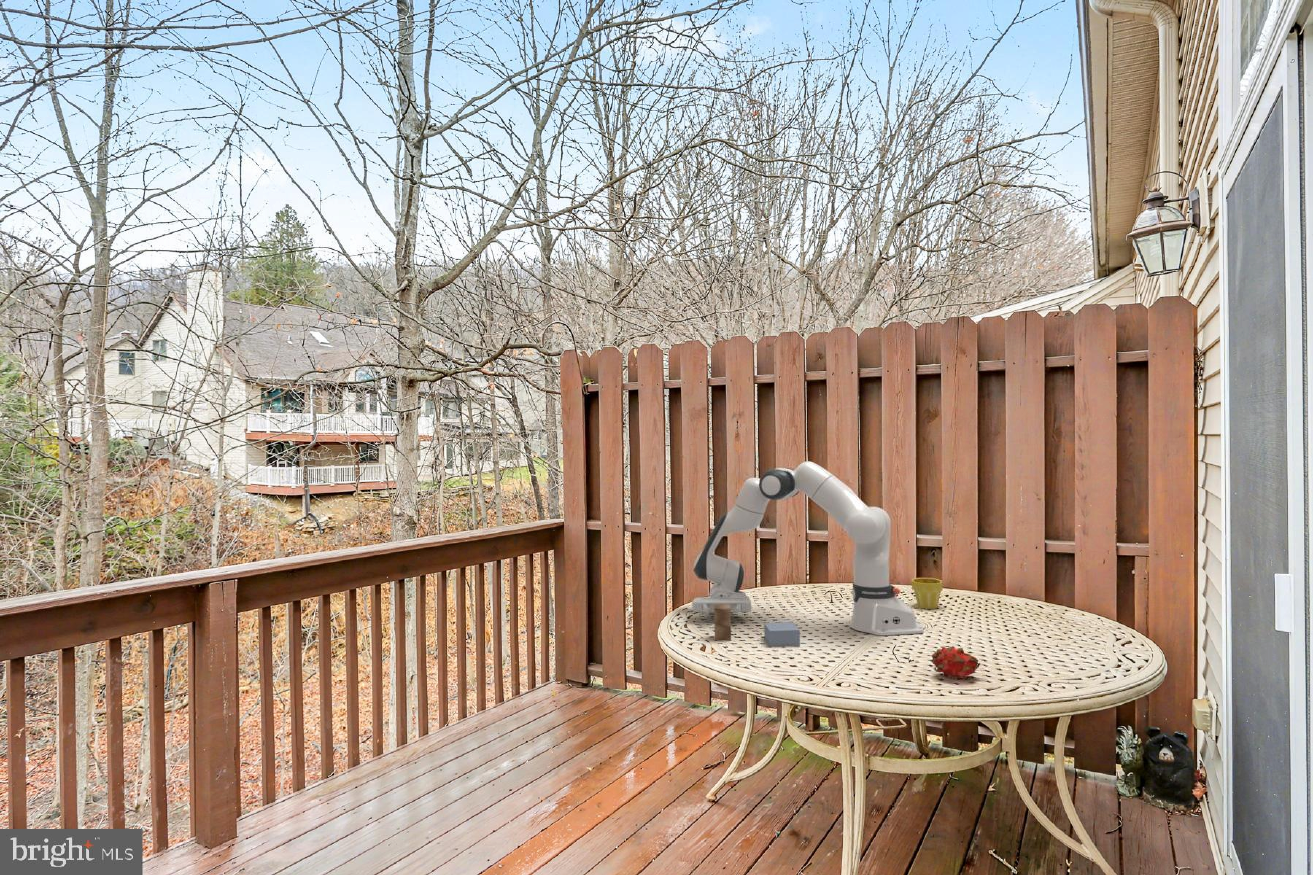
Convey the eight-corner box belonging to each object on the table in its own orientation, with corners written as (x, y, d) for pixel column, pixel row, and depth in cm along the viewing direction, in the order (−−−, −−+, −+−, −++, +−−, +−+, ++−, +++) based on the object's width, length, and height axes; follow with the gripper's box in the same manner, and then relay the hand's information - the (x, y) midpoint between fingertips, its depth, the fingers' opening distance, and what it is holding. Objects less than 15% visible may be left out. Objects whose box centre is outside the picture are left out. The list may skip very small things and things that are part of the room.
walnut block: (730, 635, 204) (729, 604, 205) (731, 640, 199) (730, 608, 200) (715, 635, 205) (714, 604, 205) (715, 640, 200) (714, 608, 200)
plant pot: (915, 610, 230) (915, 583, 230) (909, 603, 240) (908, 577, 240) (946, 610, 228) (945, 583, 228) (938, 603, 238) (937, 577, 239)
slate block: (793, 637, 202) (792, 621, 202) (800, 646, 193) (799, 629, 193) (764, 638, 201) (764, 622, 201) (770, 647, 192) (769, 630, 192)
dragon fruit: (927, 681, 166) (976, 689, 164) (937, 671, 159) (988, 679, 157) (925, 648, 171) (973, 656, 169) (934, 637, 164) (984, 645, 162)
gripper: (692, 591, 229) (690, 601, 215) (749, 591, 227) (752, 601, 213) (692, 609, 229) (691, 619, 215) (750, 609, 227) (752, 620, 213)
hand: (721, 610), depth 214 cm, fingers open, 8 cm apart
